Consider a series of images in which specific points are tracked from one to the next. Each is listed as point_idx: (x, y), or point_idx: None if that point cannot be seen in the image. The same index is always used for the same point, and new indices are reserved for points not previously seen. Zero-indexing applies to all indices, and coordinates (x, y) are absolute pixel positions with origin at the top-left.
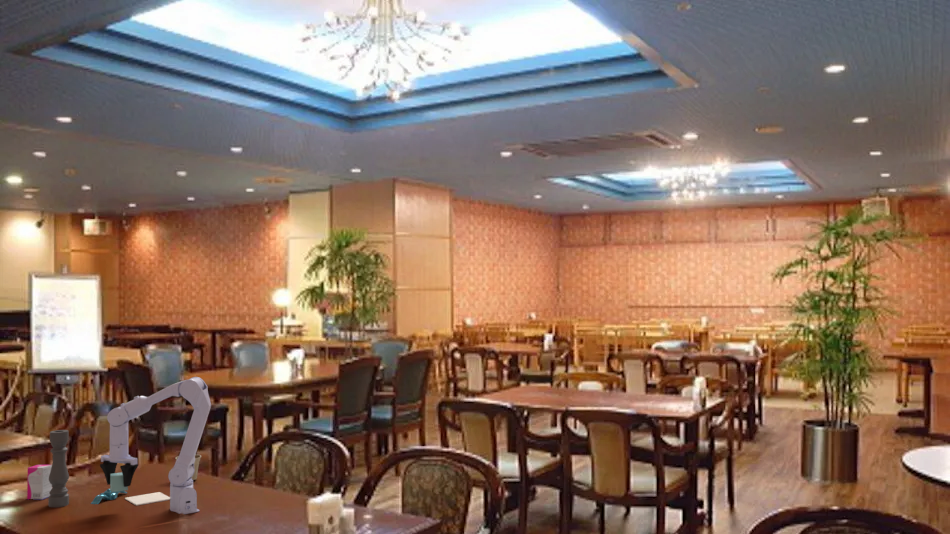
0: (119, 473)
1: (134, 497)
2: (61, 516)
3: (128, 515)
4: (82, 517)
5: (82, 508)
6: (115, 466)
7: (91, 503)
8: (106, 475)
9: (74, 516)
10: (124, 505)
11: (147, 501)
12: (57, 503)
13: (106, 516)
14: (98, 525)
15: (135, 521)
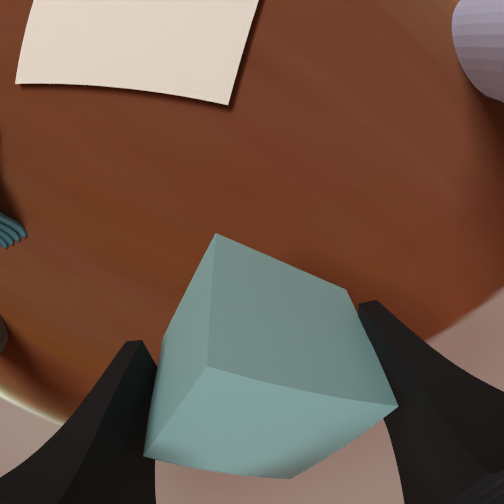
0: (225, 434)
1: (50, 35)
2: None
3: (373, 251)
4: None
5: (59, 303)
6: (80, 483)
7: (5, 245)
8: (150, 459)
9: None
10: (151, 147)
11: (220, 17)
12: (1, 348)
13: None
14: None
15: (456, 280)
